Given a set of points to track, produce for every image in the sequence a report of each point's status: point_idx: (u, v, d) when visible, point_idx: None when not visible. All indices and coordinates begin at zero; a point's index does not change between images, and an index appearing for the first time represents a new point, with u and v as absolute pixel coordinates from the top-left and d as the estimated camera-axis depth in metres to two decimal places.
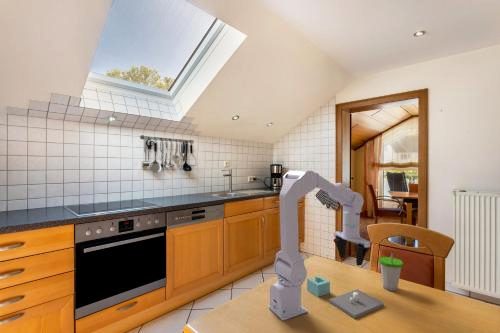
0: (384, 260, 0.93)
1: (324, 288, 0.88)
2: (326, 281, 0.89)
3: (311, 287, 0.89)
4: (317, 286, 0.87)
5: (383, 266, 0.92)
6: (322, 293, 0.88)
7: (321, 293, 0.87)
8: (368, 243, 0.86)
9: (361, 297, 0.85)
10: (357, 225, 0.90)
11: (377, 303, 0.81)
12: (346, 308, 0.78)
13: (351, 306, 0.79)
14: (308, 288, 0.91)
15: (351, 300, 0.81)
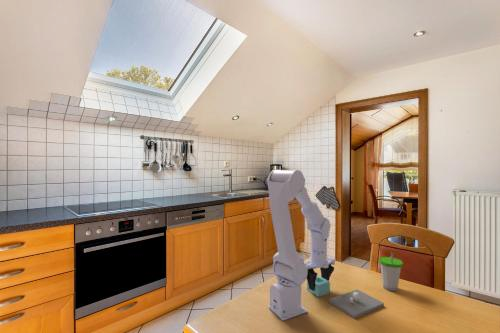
0: (384, 260, 0.93)
1: (324, 288, 0.88)
2: (326, 281, 0.89)
3: None
4: (317, 286, 0.87)
5: (383, 266, 0.92)
6: (322, 293, 0.88)
7: (321, 293, 0.87)
8: None
9: (361, 297, 0.85)
10: (325, 251, 0.88)
11: (377, 303, 0.81)
12: (346, 308, 0.78)
13: (351, 306, 0.79)
14: (308, 288, 0.91)
15: (351, 300, 0.81)
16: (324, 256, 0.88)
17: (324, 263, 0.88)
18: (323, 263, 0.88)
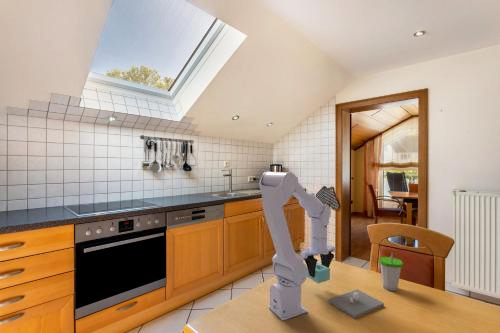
0: (384, 260, 0.93)
1: (324, 275, 0.88)
2: (326, 268, 0.89)
3: None
4: (317, 273, 0.87)
5: (383, 266, 0.92)
6: (322, 280, 0.87)
7: (321, 280, 0.87)
8: (302, 253, 0.87)
9: (361, 297, 0.85)
10: (325, 237, 0.88)
11: (377, 303, 0.81)
12: (346, 308, 0.78)
13: (351, 306, 0.79)
14: (308, 275, 0.90)
15: (351, 300, 0.81)
16: (324, 242, 0.88)
17: (324, 250, 0.88)
18: (323, 250, 0.87)
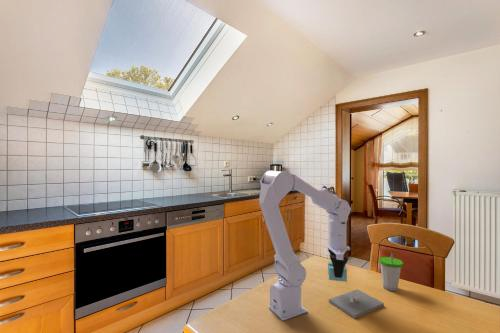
0: (384, 260, 0.93)
1: None
2: None
3: None
4: (345, 271, 0.83)
5: (383, 266, 0.92)
6: None
7: None
8: (340, 255, 0.79)
9: (361, 297, 0.85)
10: (343, 235, 0.83)
11: (377, 303, 0.81)
12: (346, 308, 0.78)
13: (351, 306, 0.79)
14: (332, 277, 0.84)
15: (351, 300, 0.81)
16: None
17: None
18: None
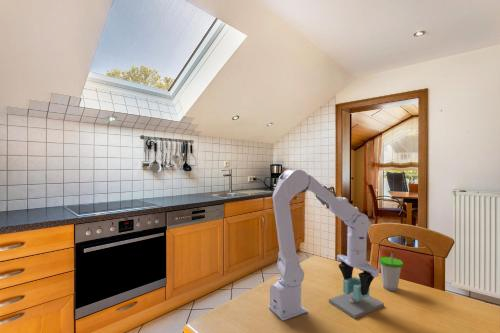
0: (384, 260, 0.93)
1: None
2: (355, 278, 0.85)
3: None
4: None
5: (383, 266, 0.92)
6: None
7: None
8: (377, 272, 0.76)
9: None
10: (361, 250, 0.79)
11: (377, 303, 0.81)
12: (346, 308, 0.78)
13: (351, 306, 0.79)
14: (359, 296, 0.79)
15: (351, 300, 0.81)
16: None
17: None
18: None
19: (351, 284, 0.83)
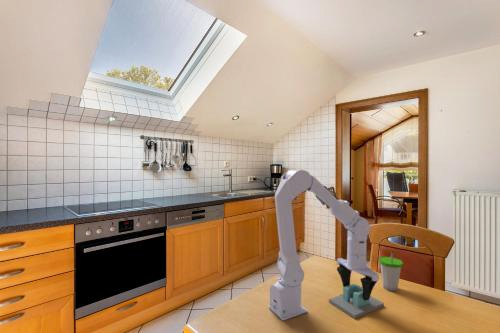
0: (384, 260, 0.93)
1: None
2: (355, 285, 0.85)
3: (362, 300, 0.80)
4: None
5: (383, 266, 0.92)
6: None
7: None
8: (376, 276, 0.76)
9: None
10: (361, 255, 0.79)
11: (377, 303, 0.81)
12: (346, 308, 0.78)
13: (351, 306, 0.79)
14: (359, 304, 0.79)
15: (351, 300, 0.81)
16: None
17: None
18: None
19: (351, 291, 0.83)
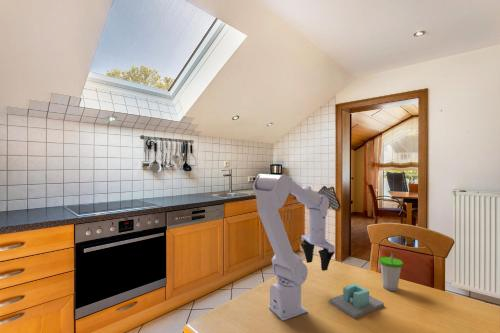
0: (384, 260, 0.93)
1: None
2: (355, 285, 0.85)
3: (362, 300, 0.80)
4: (368, 292, 0.81)
5: (383, 266, 0.92)
6: None
7: None
8: (332, 248, 0.83)
9: None
10: (324, 229, 0.87)
11: (377, 303, 0.81)
12: (346, 308, 0.78)
13: (351, 306, 0.79)
14: (359, 304, 0.79)
15: (351, 300, 0.81)
16: None
17: None
18: None
19: (351, 291, 0.83)
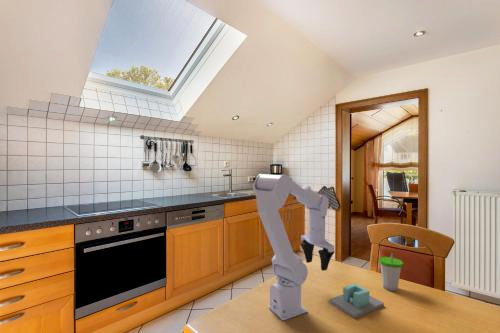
0: (384, 260, 0.93)
1: None
2: (355, 285, 0.85)
3: (362, 300, 0.80)
4: (368, 292, 0.81)
5: (383, 266, 0.92)
6: None
7: None
8: (332, 247, 0.83)
9: None
10: (323, 228, 0.87)
11: (377, 303, 0.81)
12: (346, 308, 0.78)
13: (351, 306, 0.79)
14: (359, 304, 0.79)
15: (351, 300, 0.81)
16: None
17: None
18: None
19: (351, 291, 0.83)
